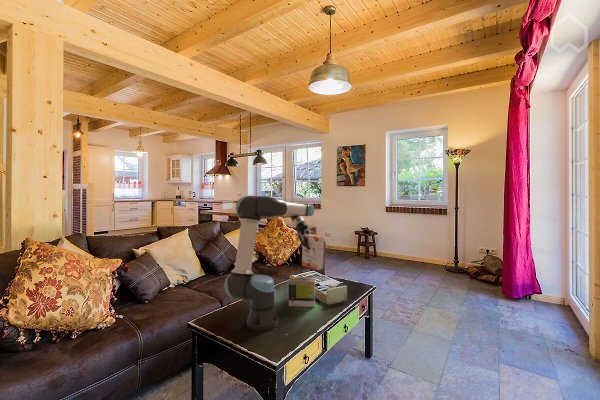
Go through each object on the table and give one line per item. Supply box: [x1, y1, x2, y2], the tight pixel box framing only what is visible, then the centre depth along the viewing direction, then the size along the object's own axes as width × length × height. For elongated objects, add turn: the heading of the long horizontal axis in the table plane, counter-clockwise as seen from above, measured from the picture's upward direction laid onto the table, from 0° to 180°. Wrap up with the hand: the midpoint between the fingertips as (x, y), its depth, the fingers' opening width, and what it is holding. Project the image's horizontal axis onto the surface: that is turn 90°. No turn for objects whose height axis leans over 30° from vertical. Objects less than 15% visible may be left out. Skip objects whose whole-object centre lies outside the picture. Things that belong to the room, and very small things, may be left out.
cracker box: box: [301, 234, 325, 271], centre depth 189 cm, size 14×6×21 cm, turn 43°
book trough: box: [315, 283, 348, 306], centre depth 182 cm, size 14×17×9 cm
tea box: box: [288, 276, 316, 308], centre depth 173 cm, size 15×10×15 cm, turn 84°
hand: (316, 253), depth 187 cm, fingers closed on cracker box, 6 cm apart
